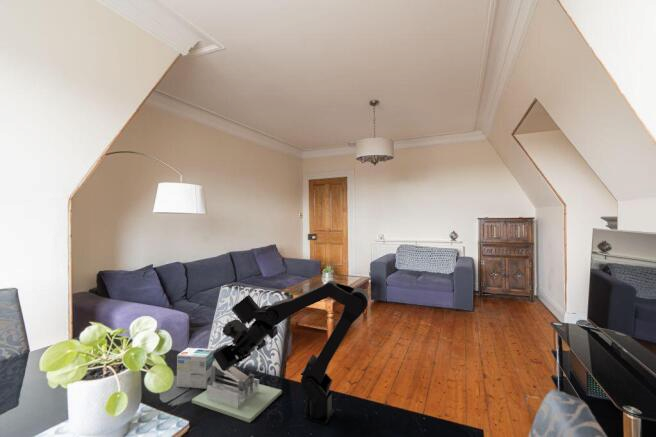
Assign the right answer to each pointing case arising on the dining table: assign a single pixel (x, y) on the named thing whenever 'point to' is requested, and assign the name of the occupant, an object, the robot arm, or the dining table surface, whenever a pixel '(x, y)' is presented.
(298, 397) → the dining table surface
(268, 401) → the pale green board
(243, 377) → the steel strap
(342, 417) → the dining table surface
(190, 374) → the light bulb box
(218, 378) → the heat sink
